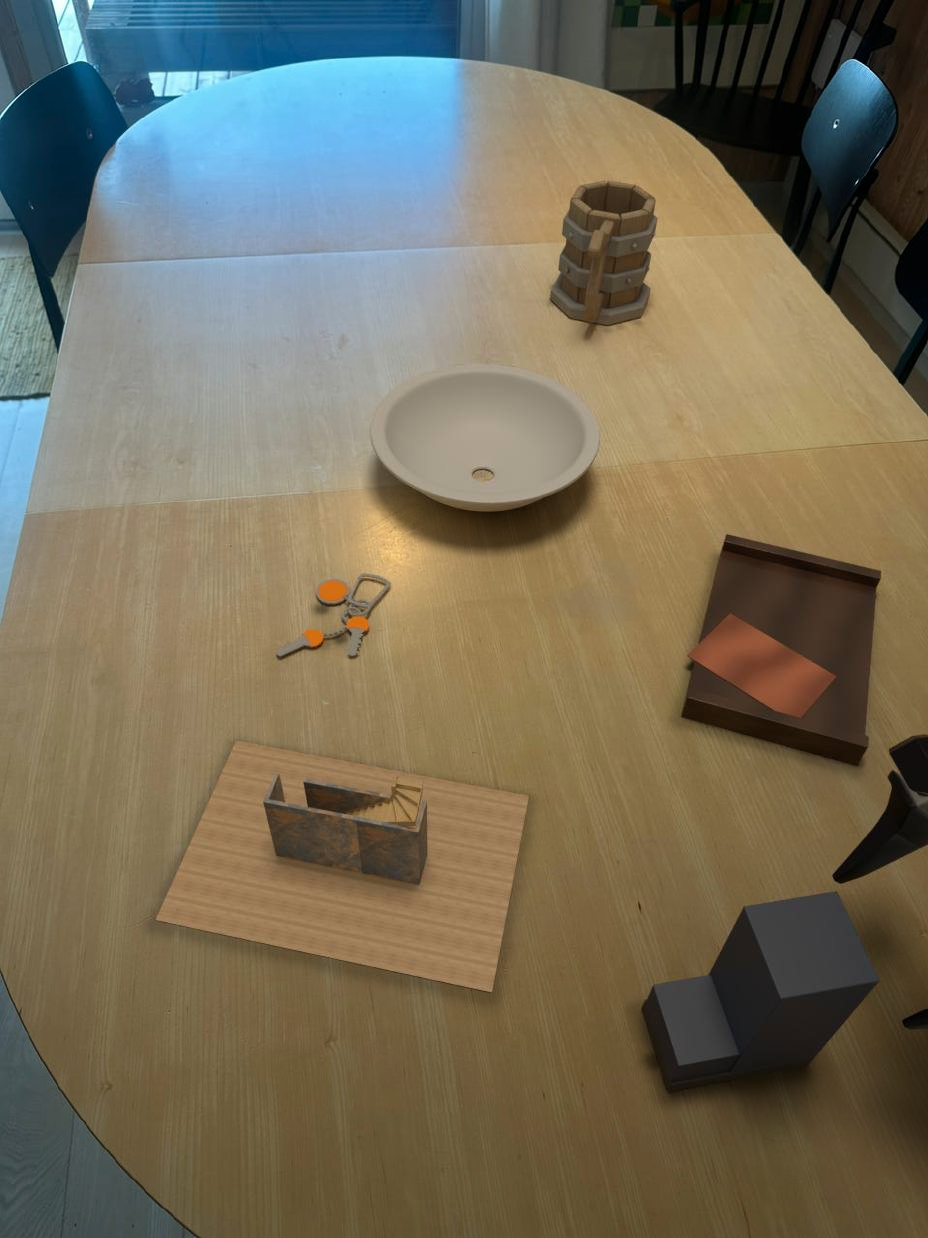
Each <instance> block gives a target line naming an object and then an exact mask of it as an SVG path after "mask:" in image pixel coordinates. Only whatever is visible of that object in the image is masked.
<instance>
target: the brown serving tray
mask: <svg viewBox="0 0 928 1238" xmlns="http://www.w3.org/2000/svg"><path fill="white" fill-rule="evenodd" d="M722 543H723V544H722V546H721V550H720V553H719V558H718V561H717V565H716V570H715V573H714V578H713V583H712V586H711V591H710V593H709V599H708V603H707V607H706V610H705V611H706V612H705V616H704V620H703V623H702V627H701V632H700V636H699V639H698V644H697V645H696V646H695V647H694V648H693V649H692V650H691V651H690V652H689V653H688V654H687V655H686V657H687V658H689V659H691V660H693V665H692V667H691V668H692V669H691V673H690V677H689V682H688V685H687V690H686V694H685V697H684V701H683V706H682V711H681V715H680V716H681V717H683V718H687V719H689V720H693V721H697V722H701V723H704V724H708V725H711V726H715V727H719V728H721V729H726V730H729V731H733V732H735V733H740V734H744V735H747V736H751V737H754V738H758V739H761V740H765V741H768V742H772V743H776V744H779V745H782V746H787V747H790V748H794V749H796V750H797V749H798V750H800V751H804V752H807V753H811V754H815V755H817V756H818V755H819V756H823V757H826V758H829V759H833V760H836V761H841V762H843V763H847V764H851V765H855V766H859V764H860V762H861V761H862V758H863V757H864V755H865V754H866V752H867V750H868V749H869V739H870V737H869V736H868V735H866V729H867V728H866V726H867V715H868V714H867V713H868V699H869V689H870V675H871V662H872V651H873V650H872V649H873V638H874V625H875V612H876V600H877V599H876V598H877V589H878V588H877V587H878V586H879V584H880V582H881V579H882V570H879V569H876V568H871V567H866V566H862V565H859V564H855V563H851V562H846V561H843V560H837V559H835V558H834V559H833V558H829V557H826V556H820V555H816V554H812V553H808V552H804V551H800V550H796V549H791V548H787V547H782V546H779V545H775V544H770V543H766V542H763V541H758V540H753V539H751V538H750V539H749V538H745V537H742V536H741V537H740V536H736V535H732V534H729V533H726V534H725V537H724V541H723V542H722Z"/></svg>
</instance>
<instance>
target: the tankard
mask: <svg viewBox="0 0 928 1238" xmlns="http://www.w3.org/2000/svg"><path fill="white" fill-rule="evenodd" d="M656 202H657V199H656V197H654V196H653V195H652V194H650V193H649V192H647V191H646V190H645V189H644V188H642V187H641V186H639V185H636V184H634V183H627V182H621V181H615V180H609V179H608V180H607V181H606V179H605V180H600V181H595V182H589V183H584V184H581V185H579V186H577V188H576V190H575V191H574V193H573V194H572V197H570V201H569V209H568V210H567V212H566V214H565V215H564V216H563V220H562V229H561V236H563V237H564V239H565V245H564V247H563V248H562V251H561V252H560V254H559V259H558V271H559V272H560V273H559V275H558V276H557V278H556V280H555V282H554V284H553V285H552V287H551V289H550V295H549V296H550V297H549V299H550V300H551V301H552V302H553V303H554V304H555V305H556V306H557V307H558V308H559V309H560V310H561V311H562V312H563V313H564V314H566V316H567V317H569V318H570V319H572V320H577V321H583V322H586V323H593V324H599V325H603V326H610V325H615V324H619V323H622V322H627V321H630V320H634V319H639V318H642V316H643V313H644V311H645V309H646V306H647V304H648V301H649V299H650V296H651V295H650V294H651V289H652V288H651V287H649V286H648V285H647V283H645V282H644V281H645V279H646V278H647V275H648V272H649V271H650V264H651V259H652V252H650V251H649V248H650V246H651V243H652V241H653V239H654V237H655V236H656V229H657V225H658V224H657V223H658V216H656V215H655V214H654V213H655V207H656Z"/></svg>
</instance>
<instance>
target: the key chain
mask: <svg viewBox="0 0 928 1238" xmlns="http://www.w3.org/2000/svg"><path fill="white" fill-rule="evenodd" d="M363 578H372V579H376V580H378V581H381V582H383V583H385V585H384V587H383V588H382V589H381V590H380V591H379V592H378V593H377V595H375V597H374V598H373V599H372V600H371V601H369V600H367V599H363V598H360V599H356V597H355V596H354V593H355V591H356V589H357V587H358V585H359V583H360V581H361V580H362V579H363ZM391 585H392V583H391V581H390V580H389V579H387V578H385V577H383V576H381V575H378V574H373V573H366V572H365V573H364V572H363V573H360V574H359V575H358V577H357V580H356V582H355V584H354V586H353V588H352V589H350V586H349V585H348V583H346V582H345V581H344V580H341V579H337V578H329V579H327V580H324V581H322V582H321V583H319V584H318V585H317V587H316V589H315V596H316V598H317V600H318V601H320V602H321V603H322V604H325V605H338V604H342V603H343V602H345V601H346V602H348V603H349V605H348V607H346V608H344V609H343V610H342V612H341V618H342V620H343V621H344V622H346V624H345V625H344V626H343V627H341V628H340V629H338V630H336V631H333V632H325V633H324V632H322V631H320V630H319V629H313V628H311V629H306V630H305V631H304V632H302V633H301V636H300V637H298V638H297V639H296V640H295V641H289V642H287V644H285V645H283V647H277V650H275V652H276V656H278V657H280V658H281V657H283V656H285V655H288V654H290V653H292V652H294V651H296V650H299V649H300V648H303V647H310V648H316V647H318V646H320V645H321V644H322V643H323V641H324V637H333V636H337V635H339V634H342V633H343V632H345V631H346V630H348V631H349V632H350V633H351V635H350V641H349V645H348V649H347V653H346V654H347V656H350V657H355V656H357V655H358V654H359V650H358V648H360V646H361V645H362V637H364V633H365V632H368V630H369V628H370V624H369V621H368V619H367V618H366V617H364V616H366V615H367V614H368V613H369V612H370V611H371V609H372V606H373V605H374V604H375V603H376V602H378V600H379V599H380V598H381V597H382V596H383V595H384V593H386V592H387V590H389V588H390V586H391ZM350 590H351V592H350ZM356 606H357V607H356ZM359 608H363V609H365V610H363V611H362V610H361V609H359ZM352 610H353V611H356V612H353V611H352ZM346 613H348V614H349V615H351V616H352V617H351V618H349V619H347V618H346V616H345V615H346Z"/></svg>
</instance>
